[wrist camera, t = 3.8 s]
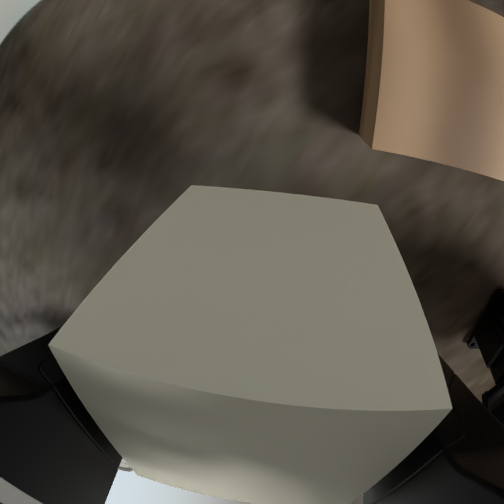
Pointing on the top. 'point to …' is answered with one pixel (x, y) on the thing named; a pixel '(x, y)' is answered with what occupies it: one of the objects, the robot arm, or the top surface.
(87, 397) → the cream cube
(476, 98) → the tan square slab
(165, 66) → the top surface
